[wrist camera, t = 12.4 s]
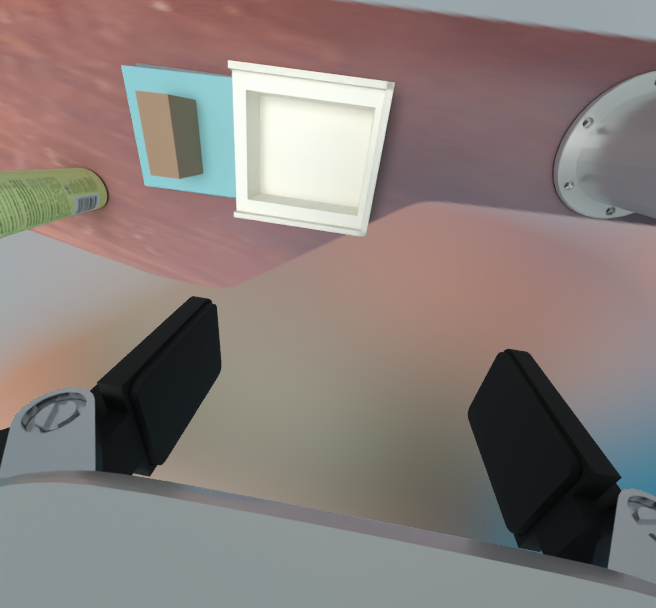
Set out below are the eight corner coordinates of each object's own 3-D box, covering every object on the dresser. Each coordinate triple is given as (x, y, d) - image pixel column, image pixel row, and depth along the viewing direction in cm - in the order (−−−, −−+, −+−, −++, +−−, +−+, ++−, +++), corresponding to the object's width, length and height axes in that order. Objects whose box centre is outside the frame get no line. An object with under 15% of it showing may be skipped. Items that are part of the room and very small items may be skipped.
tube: (58, 178, 37) (-196, 213, 21) (79, 152, 36) (-181, 168, 19) (96, 216, 39) (-108, 277, 23) (117, 194, 38) (-87, 242, 21)
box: (390, 91, 29) (395, 82, 24) (365, 222, 36) (365, 237, 31) (251, 73, 30) (228, 60, 25) (252, 205, 36) (234, 216, 31)
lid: (240, 79, 30) (214, 68, 25) (244, 197, 36) (224, 207, 31) (126, 66, 30) (79, 53, 25) (149, 184, 36) (113, 192, 31)
